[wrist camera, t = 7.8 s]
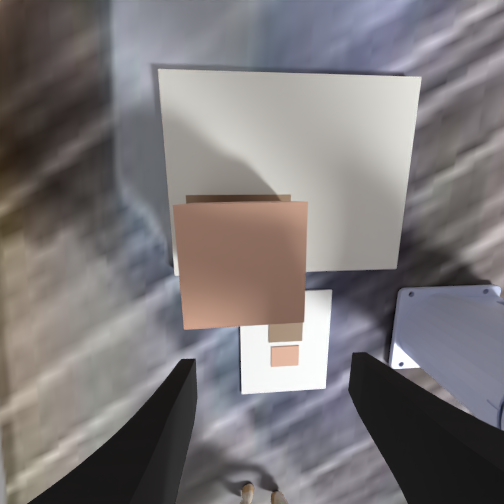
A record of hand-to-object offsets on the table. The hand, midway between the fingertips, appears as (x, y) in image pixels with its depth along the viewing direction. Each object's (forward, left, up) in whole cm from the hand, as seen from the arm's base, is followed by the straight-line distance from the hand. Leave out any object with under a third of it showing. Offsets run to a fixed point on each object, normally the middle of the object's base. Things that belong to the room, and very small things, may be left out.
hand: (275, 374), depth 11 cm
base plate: (-3, -9, -10) cm, 14 cm away
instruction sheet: (-3, +5, -10) cm, 11 cm away
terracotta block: (+1, -5, -5) cm, 7 cm away
